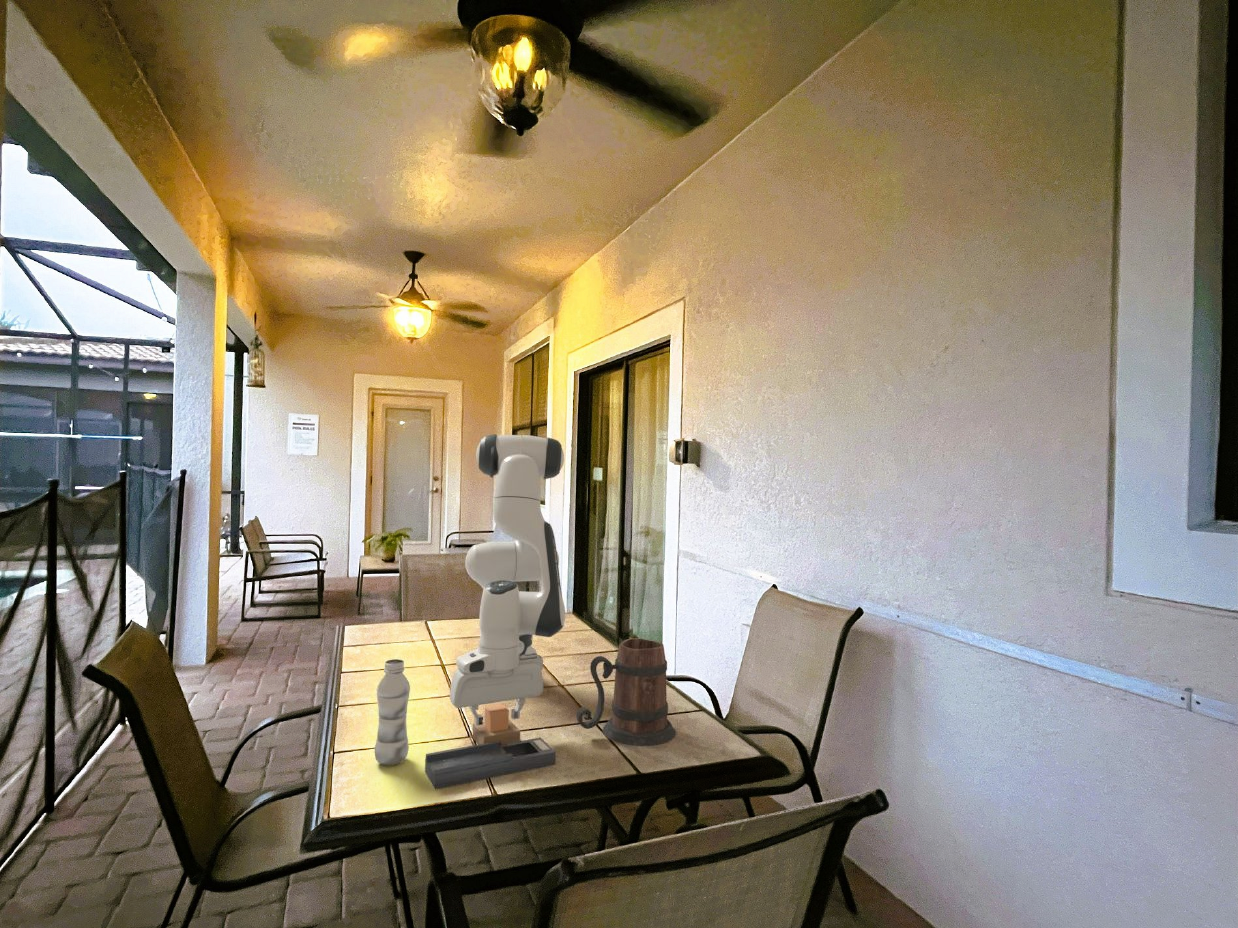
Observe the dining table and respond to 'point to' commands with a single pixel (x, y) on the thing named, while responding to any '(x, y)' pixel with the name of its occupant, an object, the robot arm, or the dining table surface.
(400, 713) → the plastic bottle
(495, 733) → the brown square plate
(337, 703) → the dining table surface
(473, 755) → the grey slotted tray
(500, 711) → the peach foam cube
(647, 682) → the tankard
